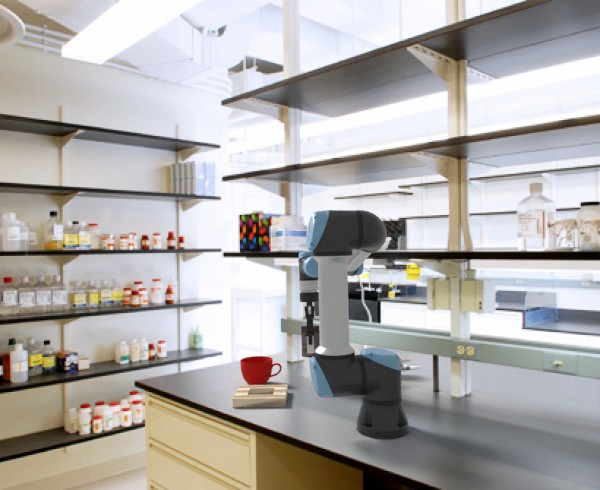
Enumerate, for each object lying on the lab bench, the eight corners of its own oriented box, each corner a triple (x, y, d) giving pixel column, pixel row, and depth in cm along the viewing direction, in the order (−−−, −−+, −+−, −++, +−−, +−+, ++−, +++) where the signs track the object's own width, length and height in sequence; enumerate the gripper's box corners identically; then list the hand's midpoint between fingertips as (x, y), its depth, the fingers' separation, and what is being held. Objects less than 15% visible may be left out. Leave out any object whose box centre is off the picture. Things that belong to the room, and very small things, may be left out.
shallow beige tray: (285, 406, 168) (284, 398, 169) (232, 407, 169) (232, 398, 169) (287, 392, 186) (287, 384, 186) (240, 393, 186) (239, 385, 186)
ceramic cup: (276, 390, 189) (276, 364, 189) (235, 388, 193) (235, 362, 193) (286, 381, 201) (286, 356, 201) (247, 379, 206) (247, 355, 206)
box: (320, 356, 190) (319, 325, 190) (314, 358, 186) (313, 326, 186) (307, 354, 193) (307, 324, 193) (301, 357, 190) (300, 325, 190)
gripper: (319, 292, 180) (321, 356, 180) (318, 289, 200) (320, 346, 199) (298, 293, 181) (300, 356, 180) (300, 290, 200) (301, 347, 199)
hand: (310, 351), depth 190 cm, fingers closed on box, 6 cm apart
